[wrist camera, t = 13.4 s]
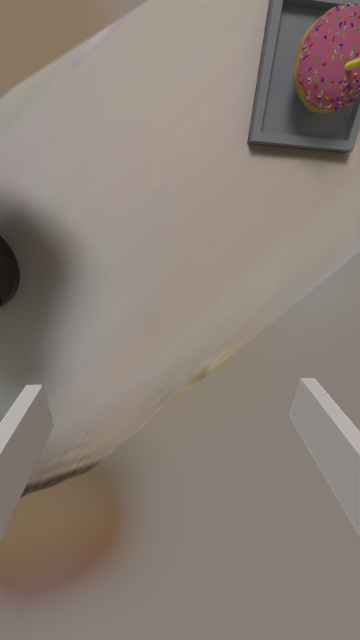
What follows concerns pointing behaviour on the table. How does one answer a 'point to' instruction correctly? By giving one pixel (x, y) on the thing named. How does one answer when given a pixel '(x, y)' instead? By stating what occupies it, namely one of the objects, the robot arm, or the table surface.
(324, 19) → the cupcake
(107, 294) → the table surface
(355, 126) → the tray
